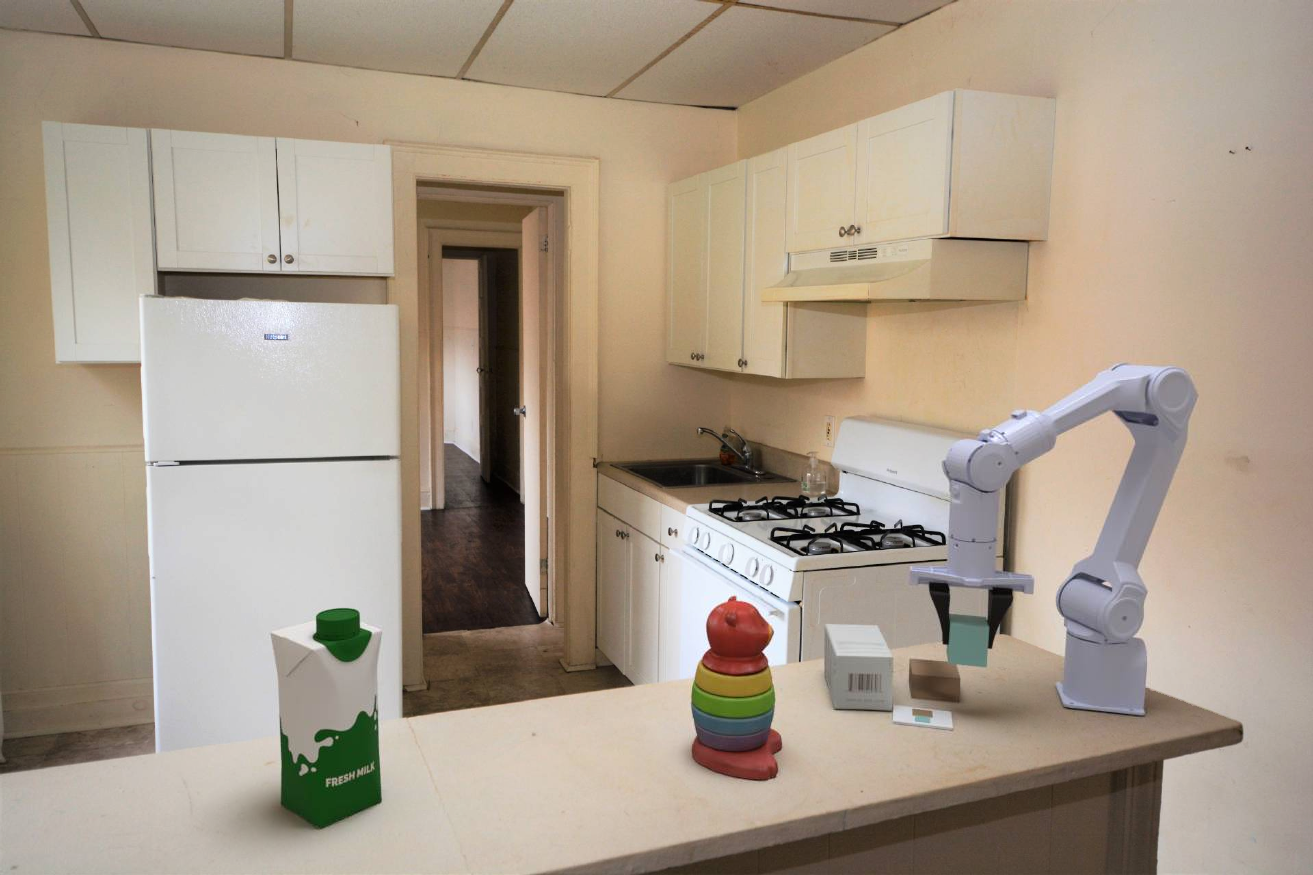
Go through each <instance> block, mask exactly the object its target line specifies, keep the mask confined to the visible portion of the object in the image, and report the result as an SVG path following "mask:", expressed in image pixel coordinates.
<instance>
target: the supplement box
mask: <svg viewBox="0 0 1313 875" xmlns="http://www.w3.org/2000/svg"><path fill="white" fill-rule="evenodd" d="M823 626H824V627H823V628H824V631H823V632H824V637H823V640H824V641H823V642H824V648H823V649H824V651H823V653H824V659H823V660H824V664H823V665H824V667H823V668H824V670H823V674H824V676H825V680H826V683H827V686H828V689H829V693H830V697H831V701H832V704H833V708H834V709H835V710H872V711H873V710H875V711H889V712H890V711H892V710H893V709H892V707H893V678H894V676H893V673H894V655H893V654H892V652H891V649H890V647H889V645H888V644H887V641H886V640H885V637H884V636H883V634H882V632H881V630H880V628H879V626H878V625H876V624H874V625H873V624H872V625H871V624H840V623H833V624H832V623H825V624H824V625H823Z"/></svg>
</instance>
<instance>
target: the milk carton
mask: <svg viewBox="0 0 1313 875" xmlns="http://www.w3.org/2000/svg"><path fill="white" fill-rule="evenodd" d="M360 615H361V613H360V611H359V610H357V609H356V608H349V607H338V608H331V609H326V610H323V611H322V610H321V611H320V612H318V613H317V614H316V616H315V619H314V620H312V621H311V620H310V621H307V622H304V623H299V624H295V625H291V626H287V627H284V628H279V629H276V630H272V631H270V632H269V633H270V638H271V644H272V650H273V656H274V662H275V668H276V673H277V684H278V686H277V687H278V690H277V691H278V712H279V715H278V716H279V736H280V737H279V739H280V743H279V744H280V760H281V762H280V763H281V764H280V765H281V767H280V768H281V770H280V772H281V773H280V776H281V777H280V779H281V780H280V805H281V806H283V807H284V808H286V809H287V810H289V811H291V812H292V813H294V814H296V815H297V816H298V817H300V818H302V819H303V820H305V821H307V822H308V823H310V824H311V825H313V826H314V827H316V828H317V829H319V830H320V829H323V828H325V827H327V826H330V825H331V824H334V823H336V822H339V821H340V820H343V819H345V818H347V817H349V816H352V815H354V814H356V813H359V812H360V811H363V810H365V809H367V808H370V807H372V806H374V805H377V804H379V803H381V802H383V798H382V778H381V760H380V759H381V758H380V757H381V756H380V740H379V738H380V735H379V732H380V731H379V701H378V700H379V693H378V686H379V685H378V662H379V656H380V655H379V653H380V648H381V647H380V646H381V642H382V636H383V629H380V628H378V627H376V626H374V625H370V624H368V623H365V622H362V621H361V616H360Z"/></svg>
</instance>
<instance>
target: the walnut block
mask: <svg viewBox="0 0 1313 875" xmlns="http://www.w3.org/2000/svg"><path fill="white" fill-rule="evenodd" d="M908 666H909V667H908V685H909V686H908V687H909V693H910V698H911V699H912V700H913V699H914V700H926V701H934V702H935V701H938V702H947V703H957V704H959V703H960V697H961V696H960V694H961V693H960V692H961V675H960V672H959V668H958V666H957V664H948V660H947V661H945V660H932V659H922V658H921V659H920V658H909V665H908Z"/></svg>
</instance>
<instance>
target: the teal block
mask: <svg viewBox="0 0 1313 875" xmlns="http://www.w3.org/2000/svg"><path fill="white" fill-rule="evenodd" d="M988 638H989V626H988V622H987V616H979V615H970V614H969V615H968V614H957V613H949V645H946V658H947V662H948V664H956V665H959V666H960V665H961V666H967V667H968V666H969V667H978V668H979V667H980V668H987V666H988V664H987V663H988V650H989V649H988Z"/></svg>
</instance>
